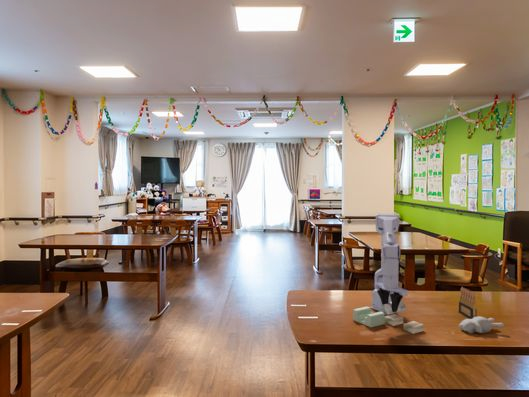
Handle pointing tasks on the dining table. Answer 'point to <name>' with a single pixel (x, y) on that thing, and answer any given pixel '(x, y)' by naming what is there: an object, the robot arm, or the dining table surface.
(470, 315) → the ammunition clip
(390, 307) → the axle
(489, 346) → the dining table surface
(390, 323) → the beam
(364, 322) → the v block
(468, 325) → the bunny figurine
